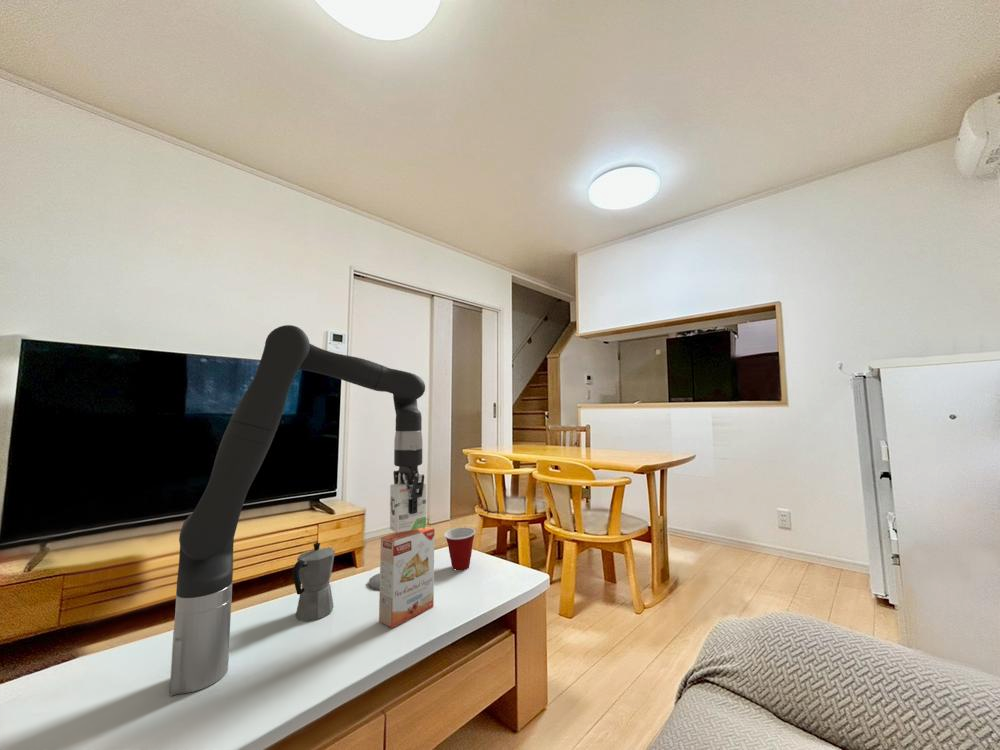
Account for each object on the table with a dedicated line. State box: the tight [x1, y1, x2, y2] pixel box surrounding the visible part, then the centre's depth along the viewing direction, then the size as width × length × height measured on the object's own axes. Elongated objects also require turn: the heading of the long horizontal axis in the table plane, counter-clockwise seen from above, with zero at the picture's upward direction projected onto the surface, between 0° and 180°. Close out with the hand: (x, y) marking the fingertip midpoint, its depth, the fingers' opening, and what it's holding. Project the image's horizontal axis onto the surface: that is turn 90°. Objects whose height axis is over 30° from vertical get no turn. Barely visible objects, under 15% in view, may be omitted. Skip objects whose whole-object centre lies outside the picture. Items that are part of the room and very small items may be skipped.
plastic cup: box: [443, 526, 476, 571], centre depth 133 cm, size 11×11×12 cm
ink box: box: [389, 482, 427, 533], centre depth 105 cm, size 9×5×12 cm, turn 126°
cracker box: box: [378, 526, 435, 629], centre depth 103 cm, size 14×6×21 cm, turn 143°
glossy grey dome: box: [368, 572, 380, 590], centre depth 122 cm, size 12×12×1 cm
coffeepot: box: [291, 542, 336, 622], centre depth 103 cm, size 15×9×18 cm, turn 169°
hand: (407, 511), depth 104 cm, fingers closed on ink box, 5 cm apart
